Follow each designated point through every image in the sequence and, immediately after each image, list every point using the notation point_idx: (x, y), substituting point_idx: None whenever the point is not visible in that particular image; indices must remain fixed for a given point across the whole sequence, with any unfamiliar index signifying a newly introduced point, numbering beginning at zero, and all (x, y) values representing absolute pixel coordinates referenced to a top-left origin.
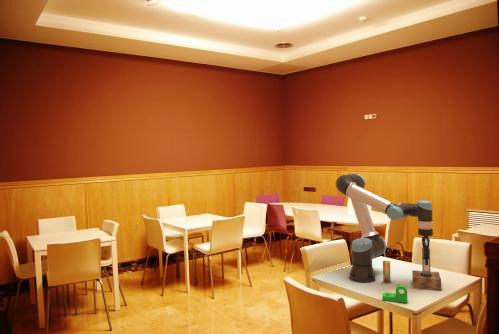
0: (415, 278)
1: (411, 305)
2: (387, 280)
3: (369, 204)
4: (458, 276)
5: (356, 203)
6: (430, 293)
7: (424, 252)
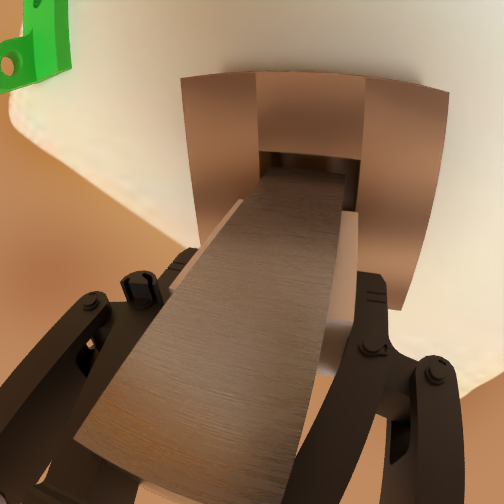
0: (186, 97)
1: (25, 102)
2: None
3: None
4: (482, 359)
5: None
6: (168, 173)
7: (23, 366)
